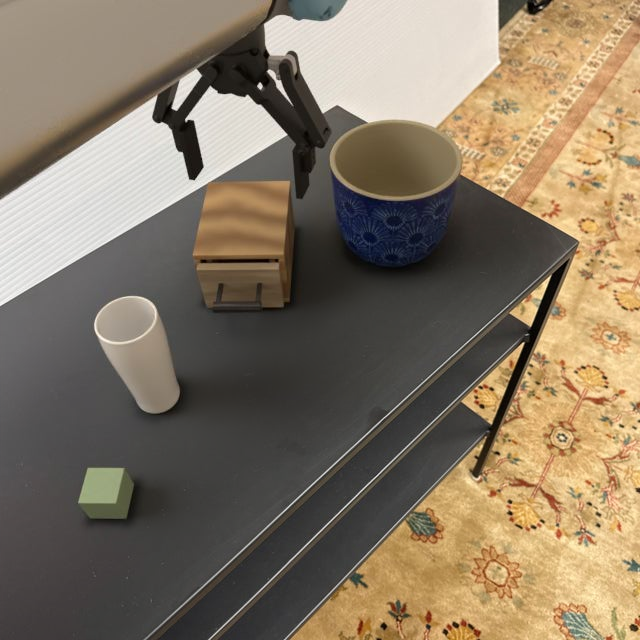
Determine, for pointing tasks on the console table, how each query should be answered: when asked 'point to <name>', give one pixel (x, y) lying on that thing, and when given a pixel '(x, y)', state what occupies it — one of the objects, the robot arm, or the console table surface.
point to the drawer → (241, 284)
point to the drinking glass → (139, 351)
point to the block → (106, 493)
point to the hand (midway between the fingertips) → (248, 182)
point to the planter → (394, 189)
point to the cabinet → (248, 224)
